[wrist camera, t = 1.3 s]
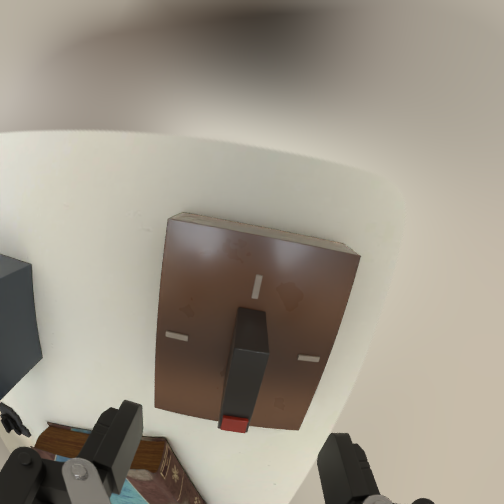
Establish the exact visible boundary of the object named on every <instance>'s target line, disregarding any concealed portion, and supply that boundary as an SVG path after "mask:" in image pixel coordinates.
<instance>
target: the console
mask: <svg viewBox="0 0 504 504" xmlns="http://www.w3.org/2000/svg"><path fill="white" fill-rule="evenodd" d="M360 257H361V256H360V255H359V254H357V253H356V252H355V251H353V250H352V249H350V248H349V247H348V246H346V245H345V244H343V243H339V242H334V241H329V240H325V239H320V238H315V237H310V236H305V235H300V234H295V233H291V232H286V231H281V230H275V229H270V228H265V227H260V226H255V225H250V224H245V223H239V222H234V221H229V220H223V219H218V218H212V217H207V216H201V215H196V214H190V213H184V212H182V213H180V214H178V215H175V216H173V217H171V218H168V223H167V230H166V237H165V245H164V254H163V262H162V272H161V282H160V292H159V304H158V318H157V334H156V354H155V408H159V409H163V410H167V411H171V412H175V413H179V414H184V415H188V416H193V417H198V418H203V419H208V420H214V421H219V414H220V407H221V399H222V392H223V385H224V378H225V373H226V368H227V363H228V358H229V352H230V347H231V342H232V337H233V332H234V327H235V322H236V317H237V311H238V308H239V307H241V308H246V309H252V310H258V311H263V312H266V321H267V332H268V342H269V353H270V354H269V358H268V362H267V365H266V369H265V373H264V376H263V380H262V383H261V387H260V390H259V394H258V397H257V401H256V404H255V408H254V411H253V414H252V418H251V421H250V424H249V426H254V427H263V428H274V429H286V430H299V428H300V426H301V424H302V422H303V419H304V417H305V415H306V413H307V410H308V408H309V406H310V403H311V401H312V398H313V396H314V394H315V391H316V389H317V386H318V384H319V381H320V379H321V376H322V374H323V371H324V368H325V366H326V363H327V360H328V358H329V355H330V352H331V350H332V347H333V344H334V341H335V338H336V335H337V333H338V330H339V327H340V324H341V321H342V318H343V315H344V311H345V308H346V305H347V302H348V299H349V295H350V292H351V289H352V285H353V282H354V279H355V275H356V272H357V268H358V264H359V261H360Z"/></svg>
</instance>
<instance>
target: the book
mask: <svg viewBox="0 0 504 504" xmlns="http://www.w3.org/2000/svg"><path fill="white" fill-rule="evenodd" d="M47 423H48V425H49V427H48V428H47V429H46V430H45V431H44V432H42V433H41V435H40V436H39V437H38V439H37V442H36V444H35V447H32V446H30V447H31V448H32V449H34V450H35V451H36V452H38V454H39V455H40V456H41V458H44V459H49V460H54V461H60V462H65V461H67V460H69V459H72V458H75V457H76V456H77V455H78V454H79V452H80V450H81V449H82V447H83V445H84V443H85V442H86V440H87V438H88V436H89V435H90V433H91V431H90V430H84V429H78V428H73V427H68V426H63V425H58V424H53V423H49V422H47ZM110 502H111V504H205V502H204V501H203V499H202V498H201V496H200V495H199V493H198V492H197V490H196V489H195V487H194V486H193V484H192V483H191V481H190V480H189V478H188V476H187V475H186V473H185V472H184V470H183V468H182V467H181V465H180V463H179V462H178V460H177V458H176V457H175V455H174V453H173V451H172V450H171V448H170V446H169V444H168V443H167V441H166V439H165V438H163V437H161V438H152V437H141V440H140V443H139V445H138V448H137V450H136V453H135V456H134V458H133V461H132V463H131V466H130V469H129V471H128V474H127V477H126V479H125V482H124V485H123V487H122V490H121V493H120V495H117V494H115V493H112V494H111V497H110Z"/></svg>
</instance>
